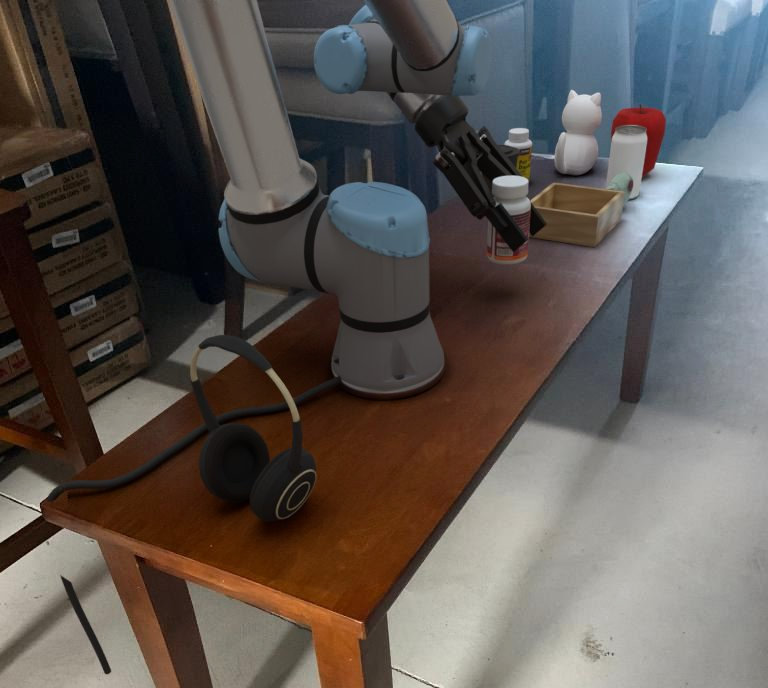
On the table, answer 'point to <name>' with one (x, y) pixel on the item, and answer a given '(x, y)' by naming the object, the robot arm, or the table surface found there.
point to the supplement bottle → (521, 149)
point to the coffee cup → (512, 156)
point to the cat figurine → (578, 134)
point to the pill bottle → (518, 206)
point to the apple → (654, 132)
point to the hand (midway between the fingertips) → (530, 237)
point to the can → (628, 155)
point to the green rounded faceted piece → (622, 184)
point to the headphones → (252, 450)
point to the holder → (578, 213)
